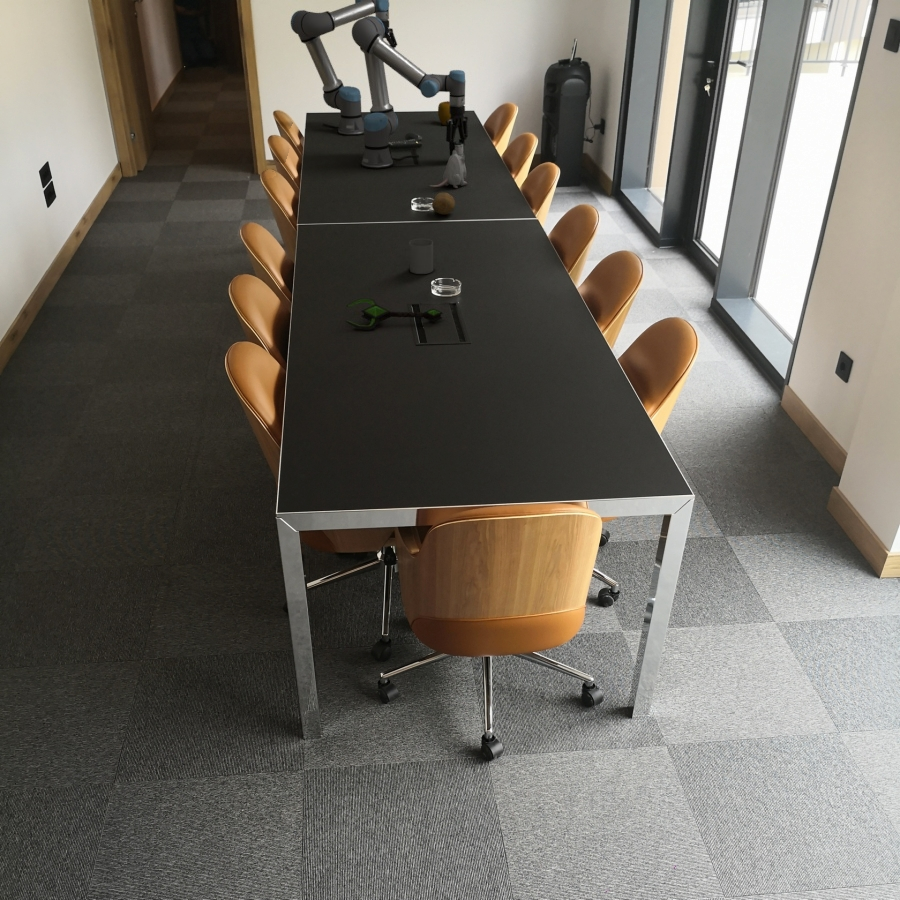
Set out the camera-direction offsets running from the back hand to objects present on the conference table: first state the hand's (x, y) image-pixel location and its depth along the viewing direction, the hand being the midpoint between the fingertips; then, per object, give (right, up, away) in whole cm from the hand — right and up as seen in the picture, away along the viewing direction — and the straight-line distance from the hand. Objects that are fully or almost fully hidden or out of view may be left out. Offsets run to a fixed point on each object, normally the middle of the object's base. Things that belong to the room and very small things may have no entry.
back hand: (383, 61), depth 494 cm
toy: (+37, -103, -100) cm, 148 cm away
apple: (+36, -33, +10) cm, 50 cm away
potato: (+35, -123, -131) cm, 183 cm away
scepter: (+20, -182, -223) cm, 289 cm away
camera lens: (+41, -77, -62) cm, 107 cm away
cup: (+28, -158, -185) cm, 245 cm away
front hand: (+41, -75, -64) cm, 106 cm away
